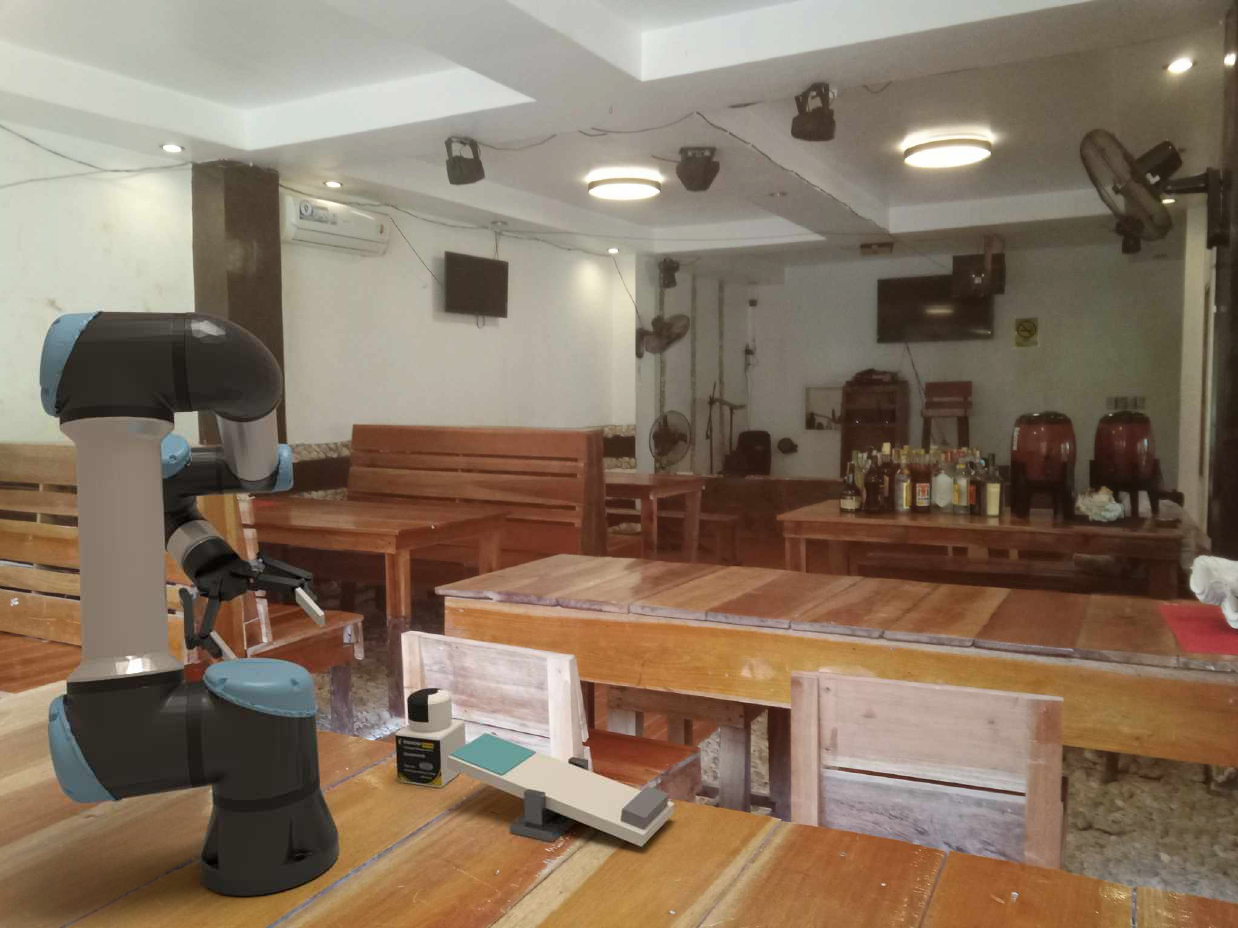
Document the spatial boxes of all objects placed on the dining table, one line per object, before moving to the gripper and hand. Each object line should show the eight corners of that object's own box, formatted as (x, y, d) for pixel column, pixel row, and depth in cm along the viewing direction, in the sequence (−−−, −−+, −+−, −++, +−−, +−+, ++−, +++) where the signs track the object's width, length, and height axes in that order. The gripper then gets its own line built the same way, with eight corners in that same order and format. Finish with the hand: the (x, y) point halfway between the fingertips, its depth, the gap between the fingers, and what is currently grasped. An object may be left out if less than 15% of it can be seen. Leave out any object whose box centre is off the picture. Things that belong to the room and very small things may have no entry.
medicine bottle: (396, 782, 131) (392, 697, 130) (424, 762, 138) (420, 682, 137) (441, 788, 129) (438, 702, 128) (467, 768, 136) (464, 686, 135)
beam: (672, 814, 118) (676, 791, 118) (641, 846, 110) (645, 822, 110) (486, 742, 130) (489, 722, 130) (446, 767, 122) (449, 745, 122)
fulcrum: (603, 798, 125) (602, 760, 124) (552, 842, 113) (551, 800, 113) (563, 790, 127) (562, 752, 127) (510, 832, 116) (508, 791, 115)
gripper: (279, 538, 157) (354, 618, 148) (127, 609, 141) (201, 704, 132) (276, 505, 152) (355, 586, 143) (119, 576, 136) (195, 671, 127)
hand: (281, 643), depth 137 cm, fingers open, 13 cm apart
